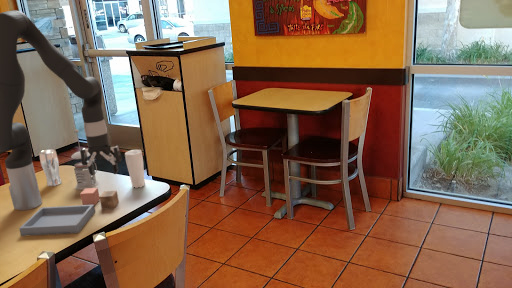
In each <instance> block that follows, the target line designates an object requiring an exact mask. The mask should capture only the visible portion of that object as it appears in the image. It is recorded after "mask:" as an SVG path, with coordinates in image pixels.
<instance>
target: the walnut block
mask: <svg viewBox="0 0 512 288" xmlns="http://www.w3.org/2000/svg"><path fill="white" fill-rule="evenodd" d="M99 197H100V200H99V203H100V207H101V209H103V210H104V209H115V208H116V207H117V206H118V204H119V203H120V202H119V194H118V191H117V190H108V191H107V190H106V191H103V192H102V193H101V194H100V195H99Z"/></svg>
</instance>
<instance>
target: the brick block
mask: <svg viewBox="0 0 512 288" xmlns="http://www.w3.org/2000/svg"><path fill="white" fill-rule="evenodd" d="M79 195H80V199H81V205H94V206H96V204H97V203H98V202H100V193H99V188H98V187H93V188H86V189H83V190H81V192H80V194H79Z"/></svg>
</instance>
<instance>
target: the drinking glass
mask: <svg viewBox="0 0 512 288" xmlns="http://www.w3.org/2000/svg"><path fill="white" fill-rule="evenodd" d="M124 157H125V158H124V159H125V162H126V167H127V171H128V174H129V178H130V183H131V186H132V187H133V188H134V187H135V188H134V189H139V188H138V187H140V188H143V187H144V186H145V185H146V182H145V169H144V159H143V153H142V150H141V149H131V150H128V151H126V152H125V153H124ZM142 186H143V187H142Z"/></svg>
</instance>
